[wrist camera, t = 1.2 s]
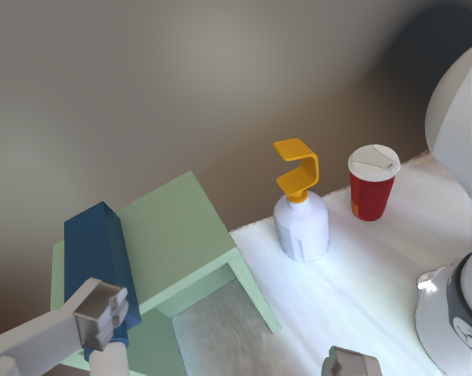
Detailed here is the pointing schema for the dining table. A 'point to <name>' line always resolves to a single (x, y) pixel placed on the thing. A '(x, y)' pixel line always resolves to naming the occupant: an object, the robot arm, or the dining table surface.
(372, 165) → the paper cup
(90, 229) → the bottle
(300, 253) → the soap bottle
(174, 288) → the stand
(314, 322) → the dining table surface
